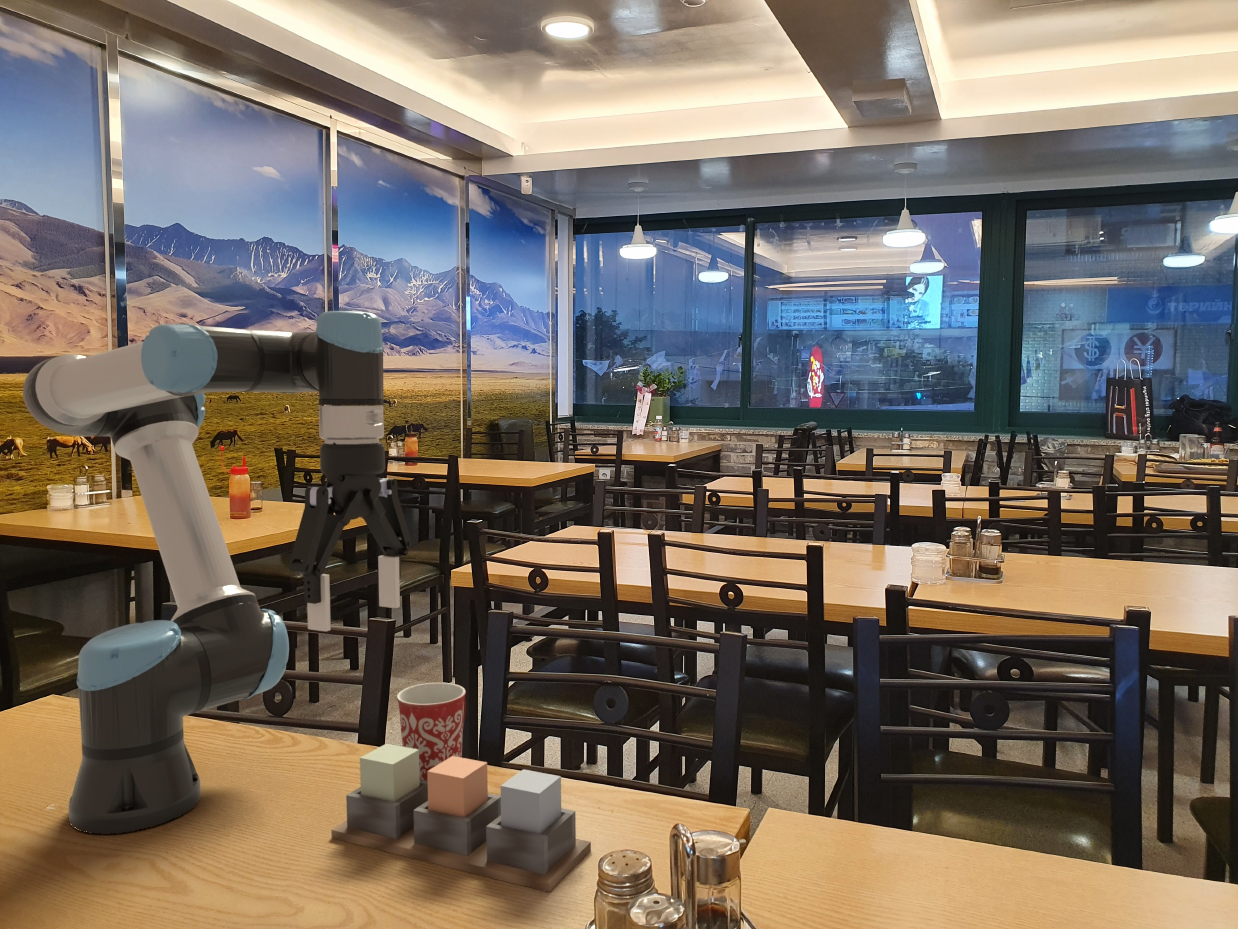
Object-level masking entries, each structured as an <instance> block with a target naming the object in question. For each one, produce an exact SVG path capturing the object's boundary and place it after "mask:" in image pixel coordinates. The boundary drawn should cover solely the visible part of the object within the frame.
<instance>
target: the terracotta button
mask: <svg viewBox="0 0 1238 929" xmlns="http://www.w3.org/2000/svg"><path fill="white" fill-rule="evenodd" d="M427 776H428V810H432V811H437V812H441V813H446V814H450V815H455V816H459V817H464V818H465V817H467V816H468V815H469V814H471V813H472V812H473V811H475V810H476V809H477V808H479V807H480V806H482V805H483V804H484V803H486V802H487V801H488V793H489V792H488V788H489V787H488V784H489V783H488V781H489V780H488V762H487V761H481V760H475V759H470V758H465V757H462V758H461V757H455V756H452V757H450V758H448V759H447V760H445V761H443V762H442V763H440V764H438V765H437V766H435V767H433V768H432V769H430V770H429V771H427Z"/></svg>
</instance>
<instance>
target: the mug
mask: <svg viewBox="0 0 1238 929" xmlns="http://www.w3.org/2000/svg"><path fill="white" fill-rule="evenodd" d="M466 694H467V692H466V689H465V688H464V687H463V686H461V685H459V684H455V683H451V682H450V683H448V682H426V683H419V684H415V685H412V686H408V687H406V688H404V689H402V690H400V691H399V692H398V693H397V695H396V700H397V702H398V711H399V722H400V732H401V746H402V747H407V748H413V749H418V750H419V776H420V779H421V780H426V781H428V776H427V771H429V770H430V769H432V768H433V767H435V766H437V765H438V764H440V763H442V762H443V761H445V760H447V759H448V758H450V757H452V756H455V757H461V758H463V757H462V756H463V734H464V733H463V730H464V726H465V719H466V709H467V708H466V707H467V702H466Z"/></svg>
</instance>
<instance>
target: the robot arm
mask: <svg viewBox="0 0 1238 929" xmlns="http://www.w3.org/2000/svg"><path fill="white" fill-rule="evenodd" d="M316 320H317V321H316V327H315V331H302V332H300V331H296V332H295V331H283V330H282V331H281V330H267V329H264V330H263V329H249V328H248V329H247V328H230V327H217V326H205V325H204V326H203V325H195V324H192V323H177V324H165V323H164V324H158V325H156V326H154V327H152V328H151V329H150V330H149V332H148V335H146V336H145V337H144V340H143V341H139V342H136V343H132V344H130V345H129V344H128V345H125V346H121V347H118V348H114V349H110V350H106V351H103V352H100V353H96V354H95V353H94V354H91V355H79V354H73V353H72V354H71V353H69V354H68V353H67V354H63V355H58V356H55V357H51V358H48V359H45V360H43V361H40V362H39V363H37V364H36V365H35V366H34V367H33V368H32V369H31V370H30V371H29V373H28V374H27V376H26V378H25V379H24V381H23V382H24V383H23V388H22V396H23V402H24V404H25V407H26V409H27V410H28V412H29V413H30V415H31V416H32V418H34V419H35V420H36V421H37V422H38V423H39V424H41V425H42V426H44V427H46V428H48V429H50V430H51V431H54V432H56V433H59V434H62V435H67V436H71V437H72V436H74V437H86V438H87V437H109V438H110V439H111V443H112V445H113V448H114V451H115V453H116V455H118V456H119V457H121V458H124V459H126V460H129V461H130V463H131V466H132V470H133V472H134V476H135V479H136V483H137V485H138V489H139V491H140V496H141V498H142V500H143V505H144V508H145V510H146V513H147V516H148V519H149V522H150V523H149V524H150V526H151V528H152V529H151V530H152V532H153V534H154V535H153V536H154V537H155V538H154V539H155V541H156V544H157V547H158V551H159V553H160V554H159V555H160V557H161V561H162V563H163V566H164V569H165V572H166V576H167V578H168V582H169V584H170V588H171V590H172V593H173V597H174V600H175V603H176V606H177V608H176V609H177V610H176V612H175V613H174V615H173V616H172V617H171V619H170V620H166V619H156V620H155V619H153V620H147V621H144V622H134V623H130V624H125V625H122V626H118V627H115V628H112V629H110V630H109V629H108V630H106V631H103V632H102V633H99V634H97V635H96V636H94V637H93V638H91V639H89V640H88V641H87V642H86V644H84V645H83V646H82V648H81V650H80V652H79V655H78V666H77V667H78V668H77V677H76V685H77V687H78V701H79V702H78V703H79V718H80V719H79V721H80V735H81V738H80V739H81V756H82V758H81V763H80V767H79V769H78V772H77V776H76V779H75V782H74V787H73V790H72V795H71V796H70V798H69V800H68V822H70V823H71V824H72V826H73V827H76V828H77V829H79V830H81V831H85V832H86V831H87V832H91V833H90V834H92V833H101V834H100V835H111V833H112V834H113V833H116V834H123V832H125V833H131V832H135V830H137V831H140V830H139V829H142V830H144V829H143V828H146V827H150V828H152V827H151V826H153V827H156V826H155V825H157V826H159V825H158V824H160V825H162V824H161V823H163V824H165V823H168V822H170V821H169V820H171V819H173V818H175V819H177V818H179V817H181V816H183V815H184V814H186V813H188V812H189V811H191V810H192V809H193V808H195V807H196V806H197V805H198V803H199V802H200V800H201V798H202V795H201V794H202V792H201V791H202V790H201V779H200V776H199V774H198V772H197V769H196V766H195V765H194V762H193V760H192V757H191V755H190V753H189V751H188V748H187V745H186V743H185V738H184V717H186V716H188V715H192V714H194V713H195V714H196V713H198V712H202V711H205V710H209V709H212V708H216V707H219V706H222V705H226V704H230V703H232V702H235V701H239V700H247V699H250V698H252V697H253V696H255V695H258V694H261V693H263V692H266V691H269V690H271V689H273V687H275V686H276V685H277V684H278V683H279V682H280V680H281V679H282V677H283V676H284V674H285V671H286V669H287V663H288V660H289V652H290V642H289V636H288V631H287V627H286V625H285V622H284V621H283V619H282V618H281V616H280V615H277V612H275V611H274V610H271V609H267V608H261V607H260V605H259V602H258V599H257V596H256V594H255V593H254V592H251V591H249V590H247V589H244V588H243V587H241V585H240V582H239V579H238V575H237V572H236V570H235V567H234V564H233V561H232V559H231V555H230V553H229V549H228V547H227V543H226V540H225V537H224V534H223V532H222V528H221V525H220V523H219V522H220V521H219V520H218V517H217V514H216V511H215V508H214V506H213V505H214V504H213V502H212V500H211V497H210V494H209V493H210V492H209V491H208V487H207V484H206V481H205V478H204V475H203V473H202V470H201V468H200V467H201V466H200V463H199V461H198V459H197V455H196V453H195V449H194V446H193V444H194V442H195V441H196V439H197V438H198V436H199V428H200V427H201V425H202V424H203V422H204V419H205V417H206V416H205V415H206V408H205V407H204V404H206V397H205V393H226V392H227V393H229V392H231V393H233V392H238V393H278V394H291V395H292V394H297V393H318V425H319V426H318V429H319V430H318V433H319V434H318V437H319V438H320V439H321V440H324V443H321V446H320V447H319V468H320V472H321V474H323V475H325V478H326V483H325V485H324V487H321V486H319V487H318V486H307V487H306V488H305V489H304V508H303V512H302V516H301V520H300V523H299V526H298V530H297V534H296V537H295V541H294V544H293V549H292V552H291V555H290V559H289V563H288V570H289V571H290V572H294V573H296V574H298V575H302V576H303V577H302V578H303V593H304V594H303V598H304V602H305V603H306V604H307V605H306V608H307V629H308V630H312V631H319V632H329V631H331V626H332V625H331V591H330V590H331V589H330V588H331V586H330V574H326V573H324V572H325V570H326V568H327V566H328V563H329V562H330V559H331V557H332V555H333V553H334V550H335V548H336V546H337V544H338V541H339V539H340V537H341V535H342V533H343V530H344V529H345V527H346V526H348V525H349V524H350V522H351V521H352V520H357V519H359V518H361V519H362V520H363V521H364V523H365V524H366V526H367V528H368V529H369V532H370V533H371V535H372V536H373V538H374V540H375V541H376V543H377V544H378V546H379V548H380V550H381V551H382V553H383V555H379V556H377V557H378V558H377V560H378V564H377V565H378V607H382V608H383V607H384V608H392V609H398V608H401V598H400V597H401V596H400V594H401V593H400V592H401V589H400V588H401V587H400V580H401V576H402V569H401V567H402V566H401V563H402V560H401V557H406V556H408V554H409V549H411V548H412V546H413V541H412V538H411V535H410V531H409V529H408V525H407V521H406V518H405V515H404V512H403V509H402V506H401V501H400V498H399V492H398V481H397V479H396V478H389V477H387V478H384V477H383V478H382V477H380V476H379V474H382V473H384V472H385V470H386V452H385V451H386V449H385V445H384V443H383V442H380V439H383V438H384V437H385V428H384V427H385V425H384V424H385V423H384V404H385V403H384V351H385V346H384V341H383V340H384V339H383V330H382V322H381V319H380V317H378V315H376V314H375V313H372V312H365V311H355V310H354V311H353V310H352V311H351V310H350V311H349V310H330V311H324V312H321V313H320V314H318V316H317V318H316ZM200 797H201V798H200ZM198 801H199V802H198ZM195 805H196V806H195ZM182 814H183V815H182ZM176 817H177V818H176ZM173 820H174V819H173ZM167 821H168V822H167ZM171 821H172V820H171ZM164 822H165V823H164ZM70 823H69V824H70ZM72 826H71V827H72ZM73 827H72V828H73ZM146 829H147V828H146ZM81 831H80V832H81ZM130 831H131V832H130ZM85 832H84V833H85ZM120 832H121V833H120Z"/></svg>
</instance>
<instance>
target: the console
mask: <svg viewBox="0 0 1238 929" xmlns="http://www.w3.org/2000/svg"><path fill="white" fill-rule="evenodd" d="M345 797H346V799H345V800H346V803H345V804H346V820H345V821H344V822H341V823H340V824H338V825H337V826H335V827H333V828H332V829H331V830H330V831H331V833H330V834H331V839H336V840H339V841H343V842H347V843H350V844H354V845H355V844H356V845H358V846H364V847H367V848H371V849H375V850H379V851H383V852H386V853H387V852H388V853H391V854H395V855H399V856H403V857H407V858H411V859H416V860H418V861H422V862H427V863H430V864H435V865H438V866H442V867H447V868H451V869H455V870H459V871H463V872H467V873H471V874H475V875H479V876H483V877H487V878H491V879H495V880H499V881H503V882H507V883H511V884H515V885H520V886H523V887H527V888H531V889H534V890H539V891H543V892H547V893H550V892H551V891H552V890H553V889H554V888H555V887H556V886H557V885H558V884H559V883H560V882H562V880H563V879H564V878H565V877H566V876H567V875H568V874H569V873H570V872H572V870H573V869H574V868H575V867H576V866H577V865H578V864H579V863H580V862H581V861H582V860H583V859H584V858H585V857H586V856H587V855H588V854H589V853H590V852H591V851H592V849H591V848H592V845H591V844H592V841H590V840H589V841H588V840H583V839H580V838H576V833H577V831H576V830H577V829H576V828H577V826H576V825H577V824H576V822H577V821H576V819H577V818H576V810H571V809H567V808H562V807H561V818H560V819H558V820H557V821H556V822H555V823H554V824H553V825H552V826H550V827H549V828H548V829H547V830H546V831H545V832H544V833H542V834H536V833H532V832H527V831H523V830H518V829H513V828H509V827H504V826H501V795H499V794H493V793H489V792H488V801H487V802H486V803H484V804H483V805H482V806H480V807H479V808H477V809H476V810H475V811H473V812H472V813H471V814H469V815H468V816H467V817H465V818H464V817H459V816H455V815H450V814H446V813H441V812H437V811H432V810H428V781H426V780H421V779H420V786H419V787H418V788H416V789H415V790H413V791H411V792H410V793H408V794H407V795H405V796H403V797H402V798H400V799H399V800H397V801H396V802H391V801H387V800H382V799H378V798H373V797H369V796H364V795H361V786H360V787H358V788H356V789H355V790H352V791H351V792H349V793H347V794H346V796H345Z"/></svg>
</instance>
